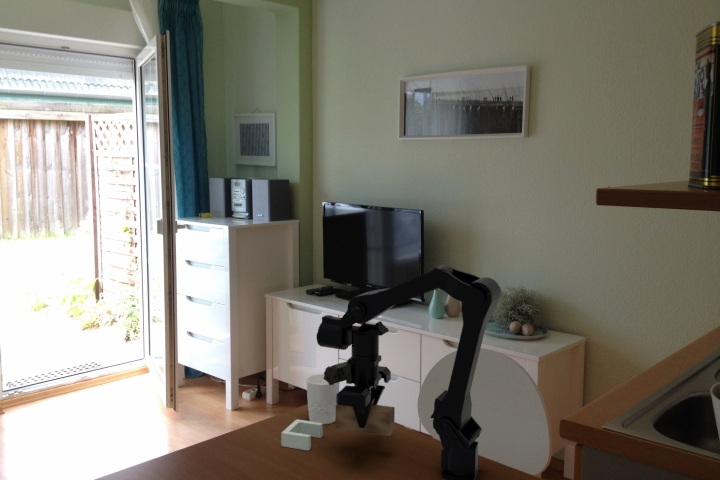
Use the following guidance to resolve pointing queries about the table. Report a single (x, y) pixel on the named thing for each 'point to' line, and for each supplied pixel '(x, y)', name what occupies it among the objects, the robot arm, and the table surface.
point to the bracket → (301, 434)
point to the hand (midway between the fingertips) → (364, 424)
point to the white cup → (321, 399)
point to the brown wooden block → (376, 423)
